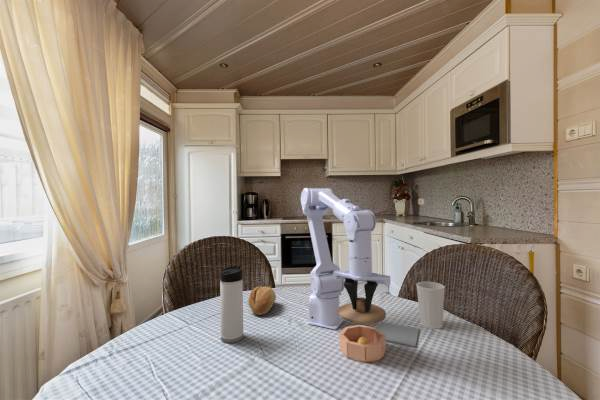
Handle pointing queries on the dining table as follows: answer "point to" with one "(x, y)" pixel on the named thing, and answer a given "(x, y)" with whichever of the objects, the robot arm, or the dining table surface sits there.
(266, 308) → the bread roll
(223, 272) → the travel mug
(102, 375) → the dining table surface
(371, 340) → the bowl
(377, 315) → the lid
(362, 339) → the clementine
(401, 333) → the mat
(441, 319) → the cup
